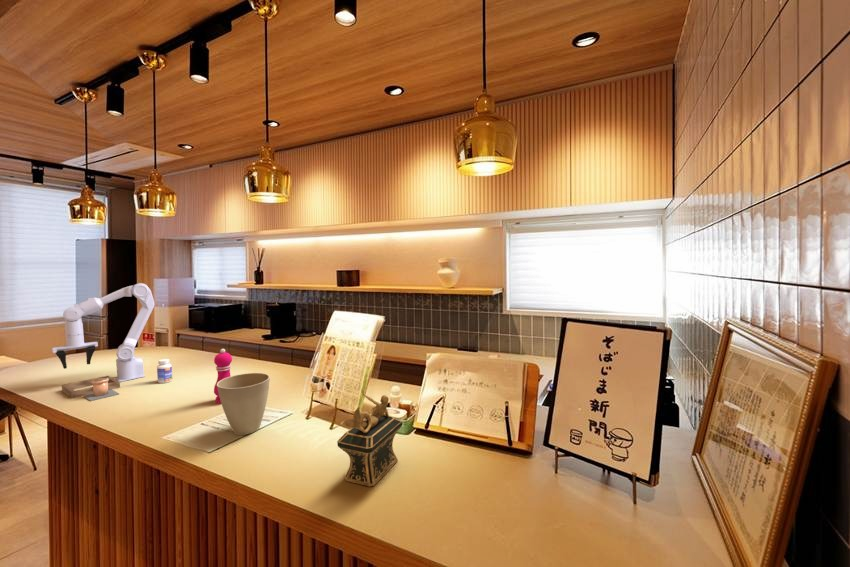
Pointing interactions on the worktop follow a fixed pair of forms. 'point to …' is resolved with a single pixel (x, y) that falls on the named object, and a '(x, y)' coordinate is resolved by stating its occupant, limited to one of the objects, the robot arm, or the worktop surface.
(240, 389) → the plant pot
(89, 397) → the slate mat
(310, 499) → the worktop surface
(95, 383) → the terracotta pot
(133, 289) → the robot arm
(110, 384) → the frame
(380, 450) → the decorative box
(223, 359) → the pepper mill
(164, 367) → the pill bottle
